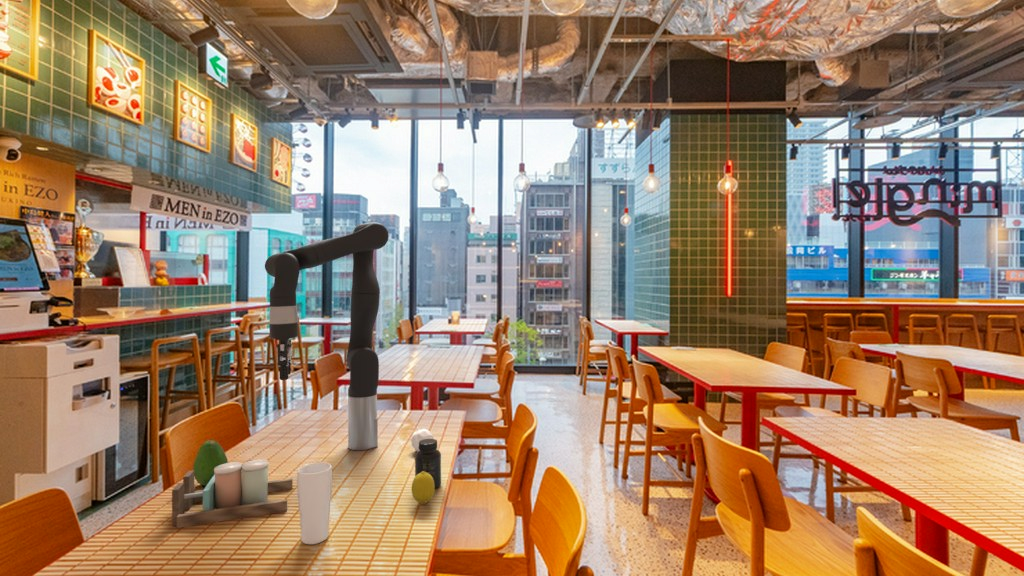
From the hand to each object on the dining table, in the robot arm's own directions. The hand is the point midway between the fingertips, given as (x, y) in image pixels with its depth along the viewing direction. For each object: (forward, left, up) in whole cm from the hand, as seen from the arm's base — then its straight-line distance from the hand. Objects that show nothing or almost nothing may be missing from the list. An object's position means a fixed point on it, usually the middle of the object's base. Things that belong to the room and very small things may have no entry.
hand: (285, 377), depth 137 cm
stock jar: (+10, +21, -27) cm, 36 cm away
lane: (+8, +21, -27) cm, 35 cm away
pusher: (+18, +21, -27) cm, 39 cm away
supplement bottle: (-37, +26, -27) cm, 53 cm away
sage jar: (+5, +22, -27) cm, 35 cm away
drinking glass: (-10, +44, -27) cm, 53 cm away
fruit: (+18, +4, -27) cm, 33 cm away
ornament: (-40, -2, -27) cm, 49 cm away
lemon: (-34, +36, -27) cm, 57 cm away
